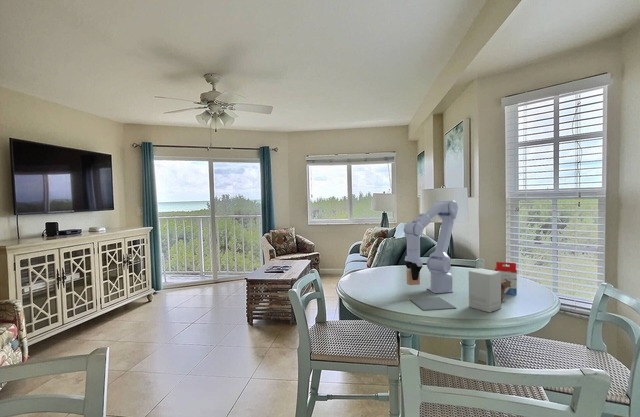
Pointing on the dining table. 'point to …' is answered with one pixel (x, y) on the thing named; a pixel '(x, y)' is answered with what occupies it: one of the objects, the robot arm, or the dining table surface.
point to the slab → (409, 278)
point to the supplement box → (485, 289)
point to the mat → (432, 303)
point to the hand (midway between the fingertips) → (413, 279)
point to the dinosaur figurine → (503, 287)
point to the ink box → (508, 276)
